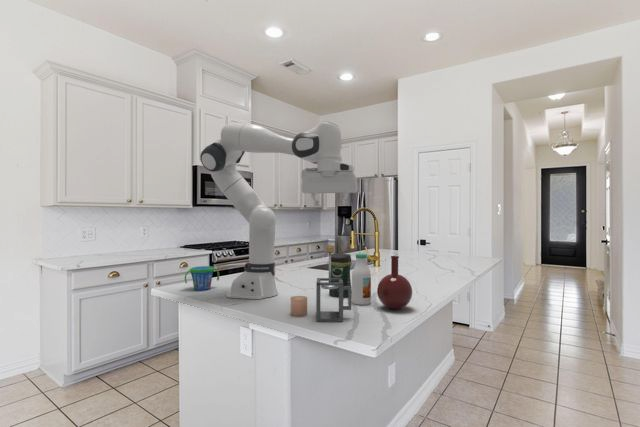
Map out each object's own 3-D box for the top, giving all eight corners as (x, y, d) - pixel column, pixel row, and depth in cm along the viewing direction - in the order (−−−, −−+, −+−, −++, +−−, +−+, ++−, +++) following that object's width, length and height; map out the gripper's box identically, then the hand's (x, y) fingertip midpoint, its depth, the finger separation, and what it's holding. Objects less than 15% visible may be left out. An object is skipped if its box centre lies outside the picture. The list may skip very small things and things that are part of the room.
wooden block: (289, 316, 127) (289, 299, 127) (291, 312, 133) (291, 295, 133) (306, 316, 127) (306, 299, 126) (307, 312, 133) (307, 295, 132)
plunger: (320, 289, 122) (321, 246, 122) (321, 285, 128) (321, 244, 128) (338, 289, 122) (338, 246, 122) (338, 285, 128) (338, 244, 128)
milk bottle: (355, 306, 141) (356, 255, 141) (348, 301, 149) (349, 253, 149) (373, 304, 144) (374, 254, 143) (366, 300, 151) (366, 252, 151)
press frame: (316, 321, 121) (316, 283, 121) (317, 314, 130) (317, 278, 130) (352, 322, 121) (352, 283, 121) (350, 314, 130) (350, 278, 130)
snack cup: (184, 292, 163) (185, 270, 163) (184, 288, 172) (184, 266, 172) (220, 290, 169) (220, 268, 169) (217, 285, 178) (218, 265, 178)
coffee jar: (353, 294, 161) (354, 253, 161) (347, 298, 154) (347, 255, 154) (333, 292, 165) (334, 252, 165) (326, 296, 158) (326, 253, 158)
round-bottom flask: (403, 315, 129) (403, 259, 129) (370, 309, 137) (371, 256, 137) (417, 307, 139) (417, 256, 139) (386, 302, 147) (386, 253, 147)
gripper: (299, 167, 129) (299, 205, 129) (356, 165, 125) (356, 205, 125) (303, 169, 135) (303, 206, 135) (357, 167, 131) (358, 205, 131)
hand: (329, 205), depth 130 cm, fingers open, 8 cm apart
